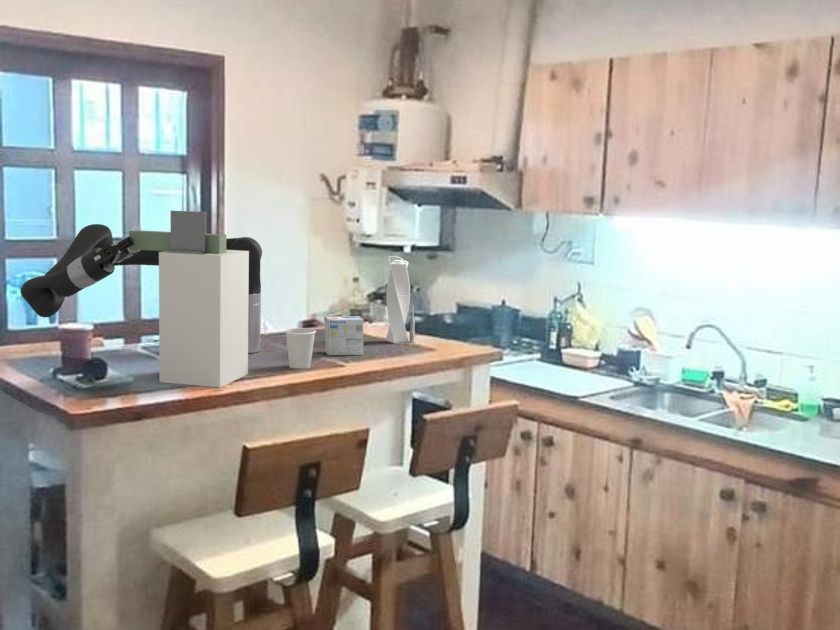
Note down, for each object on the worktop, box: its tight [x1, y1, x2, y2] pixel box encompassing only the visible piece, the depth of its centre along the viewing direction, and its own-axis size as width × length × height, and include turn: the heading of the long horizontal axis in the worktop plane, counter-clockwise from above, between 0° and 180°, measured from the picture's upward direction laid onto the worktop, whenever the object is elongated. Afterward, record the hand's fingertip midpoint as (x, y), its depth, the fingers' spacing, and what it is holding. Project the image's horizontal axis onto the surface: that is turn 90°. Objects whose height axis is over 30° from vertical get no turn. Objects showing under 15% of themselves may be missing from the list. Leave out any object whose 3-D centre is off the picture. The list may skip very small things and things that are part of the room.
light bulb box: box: [324, 315, 364, 356], centre depth 280 cm, size 11×7×11 cm, turn 105°
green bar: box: [128, 229, 227, 254], centre depth 234 cm, size 4×24×4 cm, turn 77°
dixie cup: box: [284, 327, 317, 370], centre depth 257 cm, size 8×8×10 cm
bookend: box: [167, 210, 207, 254], centre depth 228 cm, size 3×9×10 cm, turn 77°
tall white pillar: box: [158, 250, 249, 388], centre depth 237 cm, size 17×16×32 cm
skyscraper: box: [385, 255, 416, 346], centre depth 301 cm, size 8×8×28 cm
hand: (141, 239), depth 236 cm, fingers open, 8 cm apart
